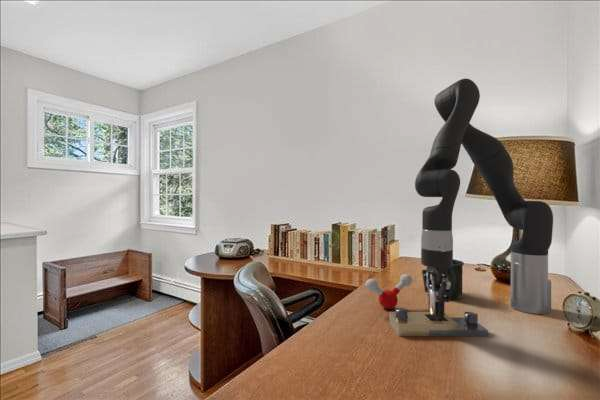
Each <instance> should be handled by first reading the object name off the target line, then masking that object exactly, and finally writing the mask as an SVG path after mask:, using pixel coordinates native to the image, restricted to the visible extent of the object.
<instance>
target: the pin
mask: <svg viewBox="0 0 600 400" xmlns="http://www.w3.org/2000/svg"><path fill="white" fill-rule="evenodd" d="M429 288H430V310H429V312H430V320H431V321H442V317H437V316H435V297H434V292H433V291H432V284H429ZM436 289H440V288H437V287H436ZM438 295H439V293H438Z"/></svg>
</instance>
